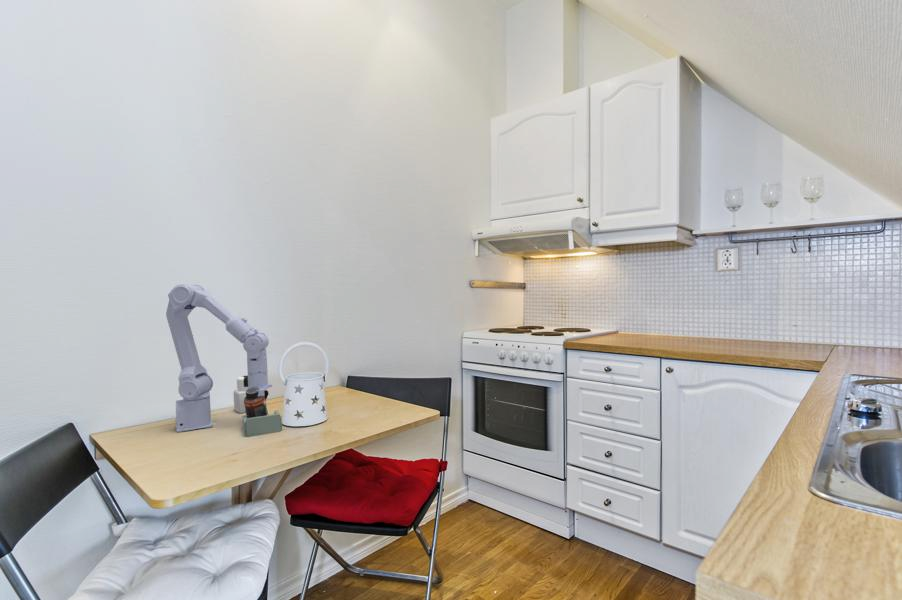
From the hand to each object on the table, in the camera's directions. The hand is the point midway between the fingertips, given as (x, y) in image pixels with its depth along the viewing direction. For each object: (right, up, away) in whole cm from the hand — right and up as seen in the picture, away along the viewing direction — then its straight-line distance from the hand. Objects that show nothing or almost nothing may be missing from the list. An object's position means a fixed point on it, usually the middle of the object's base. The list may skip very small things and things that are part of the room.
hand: (259, 415), depth 141 cm
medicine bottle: (-11, -3, +17) cm, 21 cm away
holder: (+4, -3, -7) cm, 9 cm away
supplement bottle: (+1, -2, -3) cm, 3 cm away
